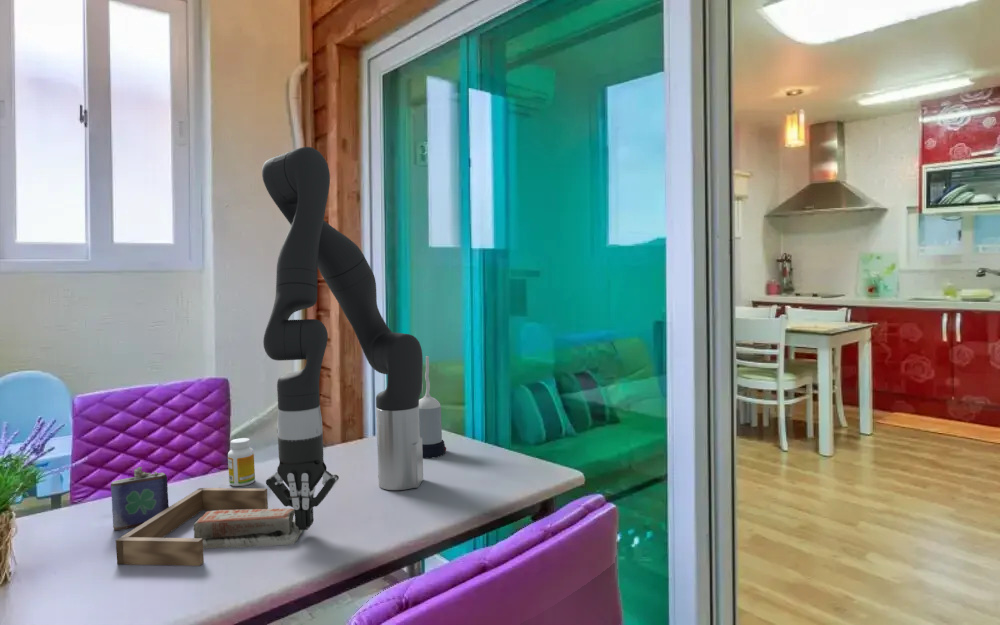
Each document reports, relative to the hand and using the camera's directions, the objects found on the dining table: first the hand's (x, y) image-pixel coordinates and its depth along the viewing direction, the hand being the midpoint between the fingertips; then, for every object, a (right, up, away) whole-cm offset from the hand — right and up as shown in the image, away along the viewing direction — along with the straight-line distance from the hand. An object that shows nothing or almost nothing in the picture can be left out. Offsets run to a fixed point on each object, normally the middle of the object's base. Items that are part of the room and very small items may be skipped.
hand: (304, 528), depth 112 cm
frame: (-19, -2, +2) cm, 19 cm away
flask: (-33, -2, +7) cm, 34 cm away
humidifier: (+17, +2, +49) cm, 52 cm away
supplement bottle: (-23, 0, +29) cm, 37 cm away
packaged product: (-10, -2, +1) cm, 10 cm away
